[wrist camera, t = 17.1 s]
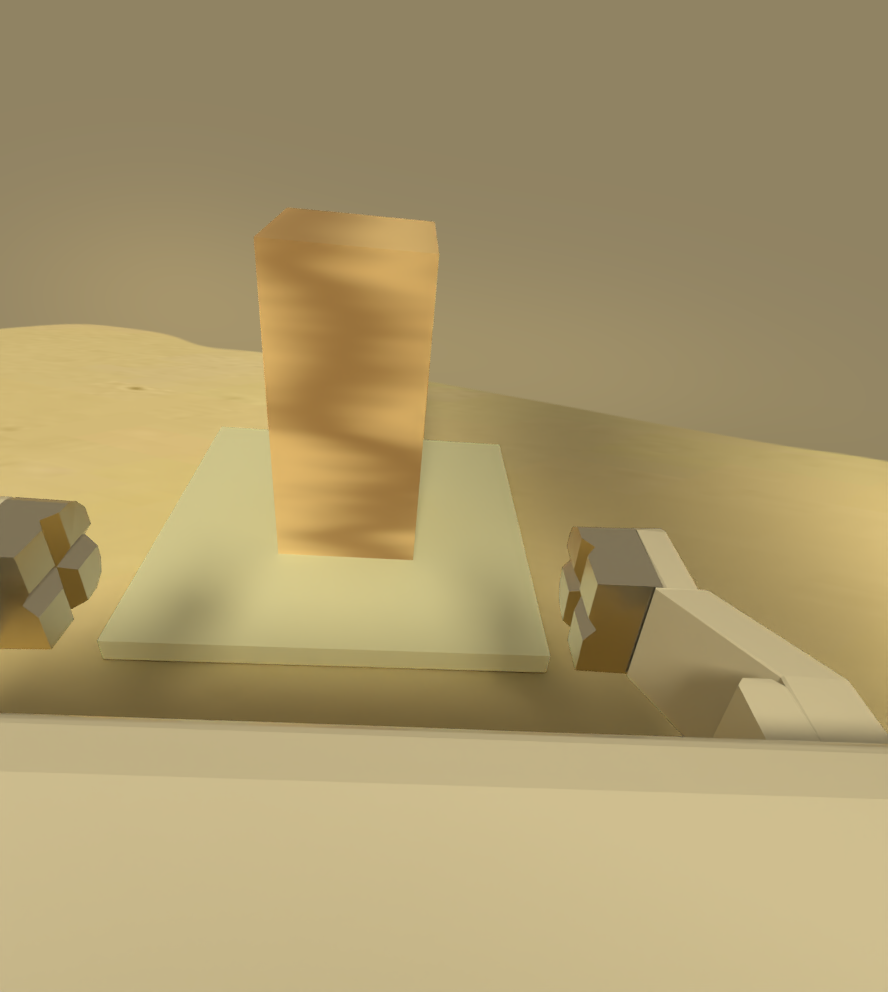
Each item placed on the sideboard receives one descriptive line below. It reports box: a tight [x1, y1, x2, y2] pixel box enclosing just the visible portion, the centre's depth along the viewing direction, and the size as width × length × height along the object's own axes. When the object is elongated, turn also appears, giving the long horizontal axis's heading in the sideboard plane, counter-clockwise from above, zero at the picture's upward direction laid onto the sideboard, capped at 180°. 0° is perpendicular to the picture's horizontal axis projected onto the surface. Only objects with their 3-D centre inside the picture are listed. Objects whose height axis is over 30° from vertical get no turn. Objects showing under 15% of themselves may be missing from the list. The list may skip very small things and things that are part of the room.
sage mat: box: [97, 427, 550, 673], centre depth 25 cm, size 14×14×1 cm
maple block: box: [254, 208, 439, 560], centre depth 21 cm, size 5×5×11 cm
